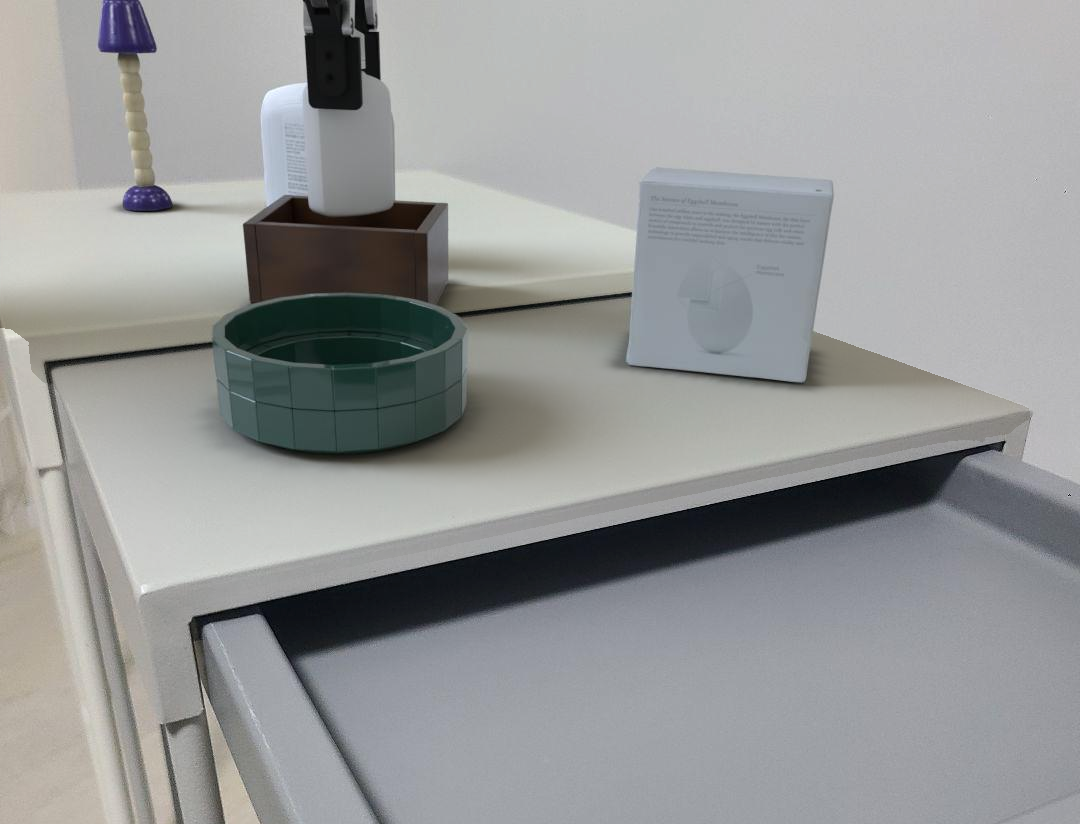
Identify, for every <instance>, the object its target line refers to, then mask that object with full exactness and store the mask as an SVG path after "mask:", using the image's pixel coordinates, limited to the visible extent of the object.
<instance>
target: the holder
mask: <svg viewBox="0 0 1080 824" xmlns="http://www.w3.org/2000/svg"><path fill="white" fill-rule="evenodd" d="M242 233H243V240H244V241H243V243H244V252H245V253H244V254H245V262H246V263H245V264H246V265H245V266H246V273H247V274H246V275H247V285H248V296H249V305H250V304H255V303H259V302H263V301H267V300H272V299H276V298H281V297H289V296H297V295H305V294H319V293H365V294H382V295H391V296H397V297H404V298H411V299H415V300H420V301H423V302H426V303H430V304H433V305H437V306H438V303H439V301H440V299H441V297H442V295H443V294H444V291H445V289H446V287H447V286H448V284H449V203H448V202H433V201H417V200H415V201H414V200H397V199H395V200H394V203H393V206H392V207H391V208H390V209H389V210H386V211H383V212H379V213H374V214H369V215H361V216H349V217H328V216H324V215H321V214H318V213H315V212H313V211H312V210H311V209H310V207H309V201H308V196H299V195H295V196H294V195H283V196H282V197H281V198H279V199H278V200H276V201H275V202H273V203H272V204H271V205H269V206H268V207H265V208H263V209H262V210H260V211H259V212H257V213H256V214H254V215H253V216H252V217H251V218H249V219H247V220H246V221H245V222H244V223H242Z"/></svg>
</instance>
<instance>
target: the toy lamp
mask: <svg viewBox="0 0 1080 824" xmlns="http://www.w3.org/2000/svg"><path fill="white" fill-rule="evenodd" d="M99 18H100V20H99V30H98V39H97V48H98V50H99V52H101V53H105V54H106V53H108V54H117V65H118V69H119V71H120V72H121V73H120V76H119V82H120V83H119V84H120V86H121V89H122V91H123V94H122V103H123V107H124V109H125V110H126V112H125V115H124V118H125V124H126V127H127V129H128V130H129V131H128V134H127V138H128V140H127V141H128V143H129V146H130V148H131V152H130V157H131V161H132V165H133V167H134V171H133V178H134V182H135V184H136V185H133V186H131V187H129V188H128V189H127V190H126V191H125V193H124V195H123V199H122V208H123V209H124V210H127V211H134V212H137V211H138V212H147V211H148V212H149V211H161V210H165V209H170V208H171V207H173V201H172V198H171V196H170V195H169V193H168V192H167V190H165V189H164V188H162V187H160V186H158V185H157V184H155V182H156V175H155V172H154V171H155V170H154V169H153V168H152V166H153V155H152V152H151V150H150V146H151V137H150V135H149V134H150V133H148V131H147V129H148V119H147V115H146V113H145V112H144V111H145V106H146V105H145V97H144V95H143V93H142V90H143V80H142V77H141V75H140V73H139V72H140V69H141V62H140V58H139V55H138V54H156V53H157V50H158V48H157V43H156V41H155V37H154V35H153V31H152V29H151V26H150V24H149V20H148V18H147V16H146V13H145V9H144V8H143V5H142V3H141V1H140V0H102V2H101V8H100V17H99Z"/></svg>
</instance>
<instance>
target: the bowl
mask: <svg viewBox="0 0 1080 824" xmlns="http://www.w3.org/2000/svg"><path fill="white" fill-rule="evenodd" d="M211 341H212V342H211V343H212V351H213V361H214V369H215V379H216V389H217V397H218V406H219V415H220V417H221V419H222V420H223V421H224V422H225V423H226V424H227V425H228V426H229V427H230V428H231V429H232V430H233V431H235V432H237V433H239V434H241V435H243V436H245V437H248V438H250V439H252V440H254V441H256V442H261V443H264V444H268V445H271V446H275V447H277V448H280V449H281V448H282V449H287V450H291V451H296V452H303V453H313V454H325V455H326V454H330V455H331V454H332V455H346V454H361V453H363V454H364V453H371V452H380V451H387V450H390V449H395V448H399V447H404V446H407V445H411V444H414V443H416V442H419V441H421V440H424V439H427V438H429V437H432V436H434V435H436V434H439V433H441V432H444V431H445V430H447V429H448V428H449V427H450V426H452V425H453V424H454V423H456V422H457V421H458V420H459V419H461V417H463V414H464V411H465V409H466V405H467V401H468V400H467V399H468V398H467V397H468V396H467V395H468V394H467V390H468V389H467V387H468V386H467V384H468V383H467V382H468V379H467V377H468V369H467V368H468V367H467V366H468V328H467V326H466V325H465V323H464V321H463V320H462V318H461V317H460V315H457V314H455V313H453V312H452V311H450V310H448V309H446V308H444V307H443V306H439V305H438V304H437V305H433V304H430V303H426V302H423V301H420V300H415V299H411V298H404V297H397V296H391V295H382V294H365V293H319V294H305V295H297V296H289V297H281V298H276V299H272V300H267V301H263V302H259V303H255V304H250V303H249V304H248V305H244V306H242V307H240V308H238V309H235V310H233V311H230V312H228V313H226V314H224V315H222V317H221V318H219V319H218V320H217V321H216V322H215V323H214V324H213V325H212V326H211Z"/></svg>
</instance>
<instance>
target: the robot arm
mask: <svg viewBox="0 0 1080 824" xmlns="http://www.w3.org/2000/svg"><path fill="white" fill-rule="evenodd" d="M302 2H303V7H302V9H303V17H302V18H303V20H302V22H303V24H302V25H303V32H304V35H303V37H304V51H305V53H304V54H305V69H306V81H307V82H306V83H307V86H308V101H309V105H310V106H311V107H312V108H315V109H336V110H358V109H360V108H361V107H362V105H363V96H362V71H364V72H365V74H367V75H369V76H372V77H375V78H377V79H379V80H380V81H382V78H381V77H382V75H381V74H382V73H381V46H380V45H381V43H380V42H381V41H380V31H378V28H379V17H378V15H379V14H378V3H377V0H302ZM354 28H355V29H356V30H357V31H359V32H361V33H363V34H364V43H365V68H364V69H361V46H360V37H354Z"/></svg>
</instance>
